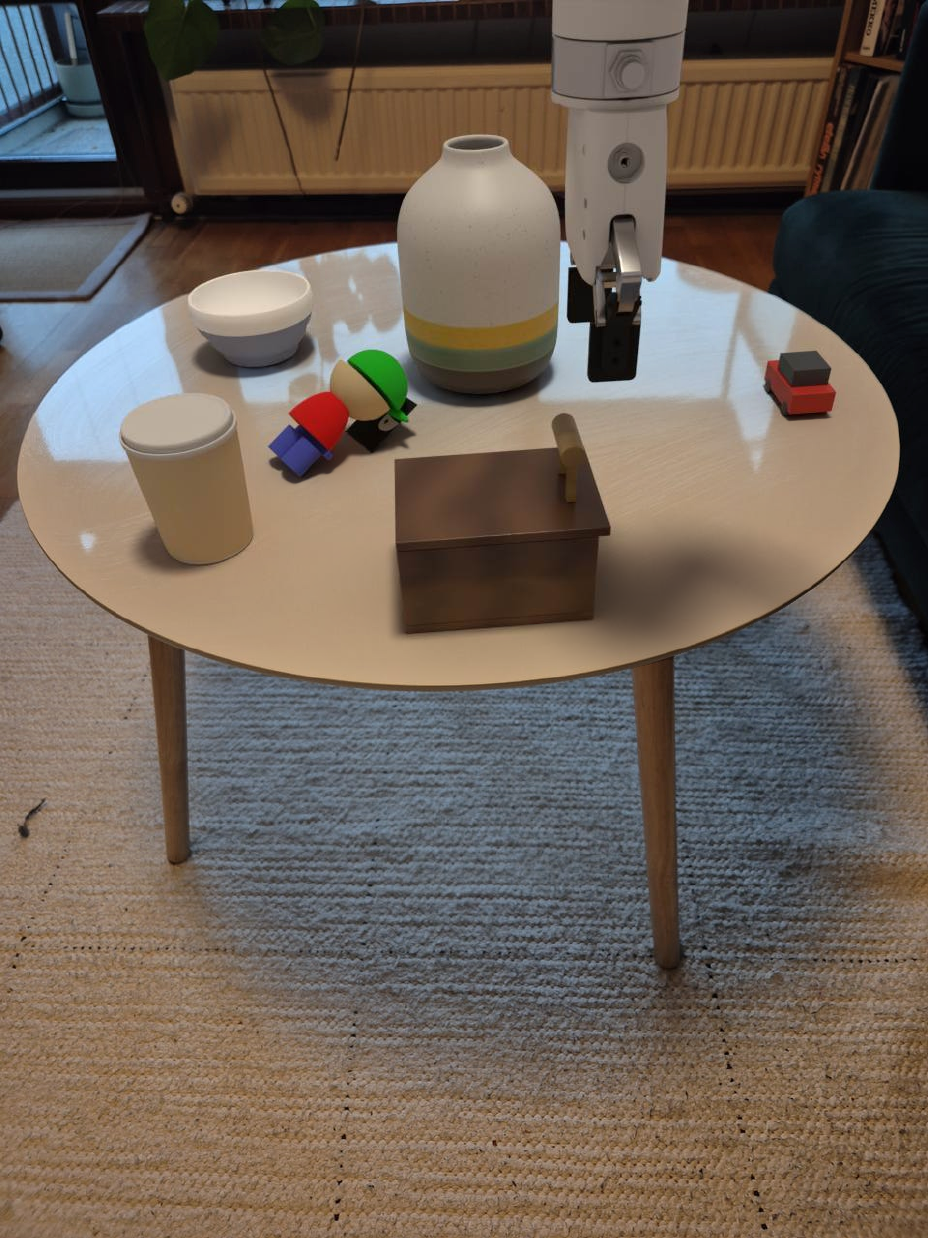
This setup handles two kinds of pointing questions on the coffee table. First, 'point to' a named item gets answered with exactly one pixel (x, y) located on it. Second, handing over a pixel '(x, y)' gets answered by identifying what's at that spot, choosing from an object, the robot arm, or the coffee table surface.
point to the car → (800, 382)
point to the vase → (479, 268)
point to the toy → (347, 410)
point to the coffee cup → (191, 474)
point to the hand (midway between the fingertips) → (599, 348)
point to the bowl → (253, 315)
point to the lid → (499, 496)
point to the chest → (498, 584)
